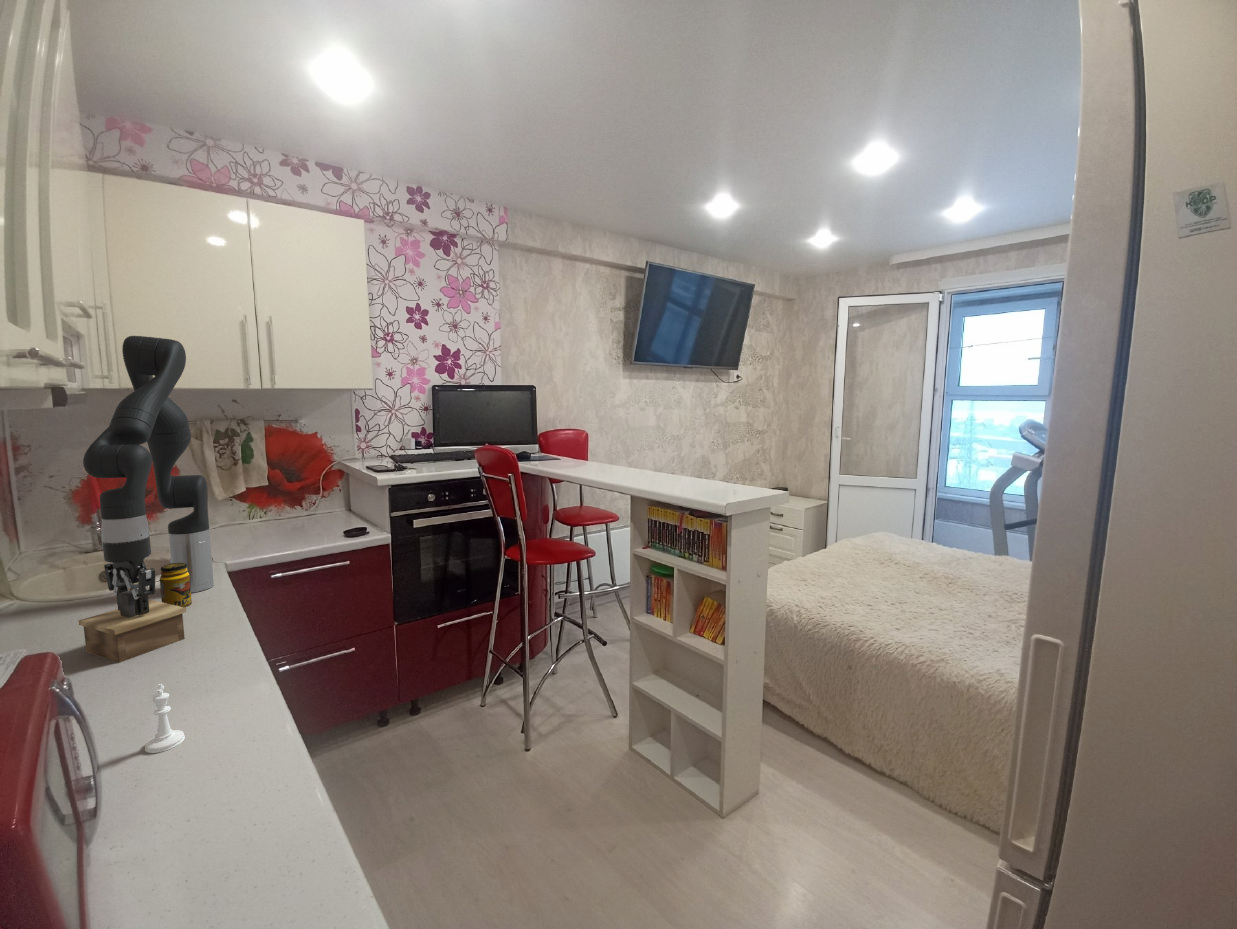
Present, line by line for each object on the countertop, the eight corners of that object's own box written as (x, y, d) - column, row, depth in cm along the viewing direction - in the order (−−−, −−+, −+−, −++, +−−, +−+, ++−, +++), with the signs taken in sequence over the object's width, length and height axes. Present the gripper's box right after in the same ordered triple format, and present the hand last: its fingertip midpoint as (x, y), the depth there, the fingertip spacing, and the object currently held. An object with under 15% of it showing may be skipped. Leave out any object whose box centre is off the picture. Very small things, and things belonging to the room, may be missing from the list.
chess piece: (139, 756, 82) (133, 695, 81) (152, 738, 87) (146, 680, 86) (178, 748, 84) (173, 689, 83) (189, 731, 89) (184, 674, 87)
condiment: (192, 610, 139) (188, 566, 138) (149, 617, 134) (145, 571, 133) (195, 601, 145) (191, 559, 144) (154, 608, 140) (150, 564, 139)
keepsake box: (86, 655, 114) (83, 624, 113) (152, 633, 125) (149, 604, 124) (120, 666, 110) (116, 633, 109) (184, 642, 121) (182, 612, 120)
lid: (79, 628, 113) (75, 597, 112) (151, 607, 125) (148, 579, 124) (115, 638, 108) (112, 606, 108) (186, 615, 120) (184, 586, 120)
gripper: (167, 536, 115) (173, 610, 117) (127, 529, 121) (134, 601, 123) (125, 544, 108) (132, 623, 110) (84, 537, 114) (92, 613, 116)
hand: (133, 611), depth 116 cm, fingers open, 5 cm apart
